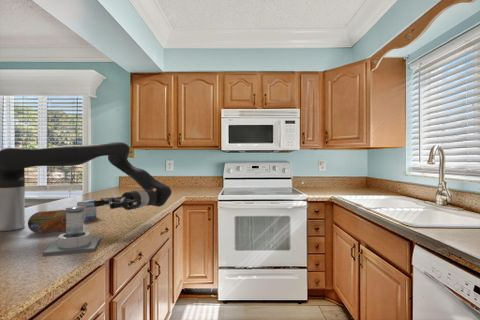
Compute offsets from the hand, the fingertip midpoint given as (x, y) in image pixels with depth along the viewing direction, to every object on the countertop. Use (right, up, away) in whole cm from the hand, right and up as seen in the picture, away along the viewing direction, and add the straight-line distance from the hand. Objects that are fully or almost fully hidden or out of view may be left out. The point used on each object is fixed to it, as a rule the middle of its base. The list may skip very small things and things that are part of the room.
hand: (102, 205), depth 105 cm
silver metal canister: (-4, -11, -11) cm, 16 cm away
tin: (-24, -12, +8) cm, 28 cm away
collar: (-4, -12, -11) cm, 17 cm away
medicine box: (-23, -12, +31) cm, 40 cm away
